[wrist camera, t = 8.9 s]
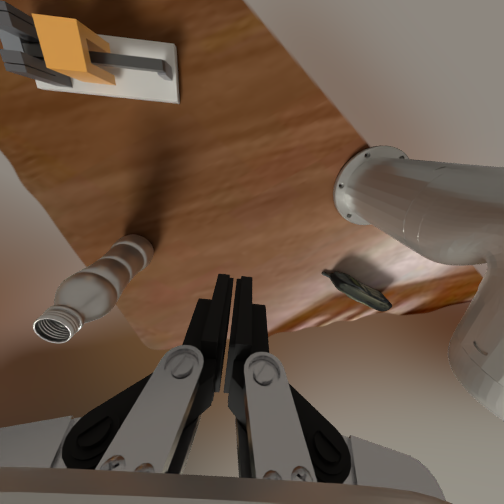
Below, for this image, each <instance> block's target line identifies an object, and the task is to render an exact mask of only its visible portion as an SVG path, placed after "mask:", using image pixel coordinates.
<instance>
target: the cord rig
mask: <svg viewBox="0 0 504 504" xmlns="http://www.w3.org/2000/svg"><path fill="white" fill-rule="evenodd" d="M97 35H98V36H100V37H101V38H102V39H104V40H105V41H106V42H108V43H109V46H110V52H111V53H104V52H95V51H89V56H90V61H91V63H92V64H94V65H95V66H97V67H99V68H101V69H103V70H105V71H107V72H109V73H111V74H112V75H114V76H115V82H116V85H107V84H98V83H88V82H82V81H80V80H77V79H74V78H72V77H69V76H67V75H64V74H62V73H59V72H56V71H54V70H51V69H49V68H47V67H46V63H45V60H44V56H43V53H42V49H41V45H40V42H39V38H38V35H37V31H36V27H35V24H34V20H33V18H32V17H30V16H28V15H27V14H25V13H23V12H22V11H20V10H18V9H17V8H15V7H13V6H12V5H10V4H8V3H7V2H5V1H0V39H1V42H2V44H3V47H4V49H0V54H1V56H2V59H3V62H6V63H4V65H5V68H6V71H9V72H13V73H16V74H19V75H22V76H26V77H29V78H32V79H35V81H36V84H37V87H38V88H40V89H44V90H52V91H62V92H71V93H81V94H91V95H100V96H110V97H119V98H129V99H139V100H148V101H158V102H167V103H177V104H180V100H179V83H178V66H177V50H176V46H175V44H172V43H164V42H156V41H148V40H140V39H131V38H123V37H115V36H107V35H99V34H97Z"/></svg>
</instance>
